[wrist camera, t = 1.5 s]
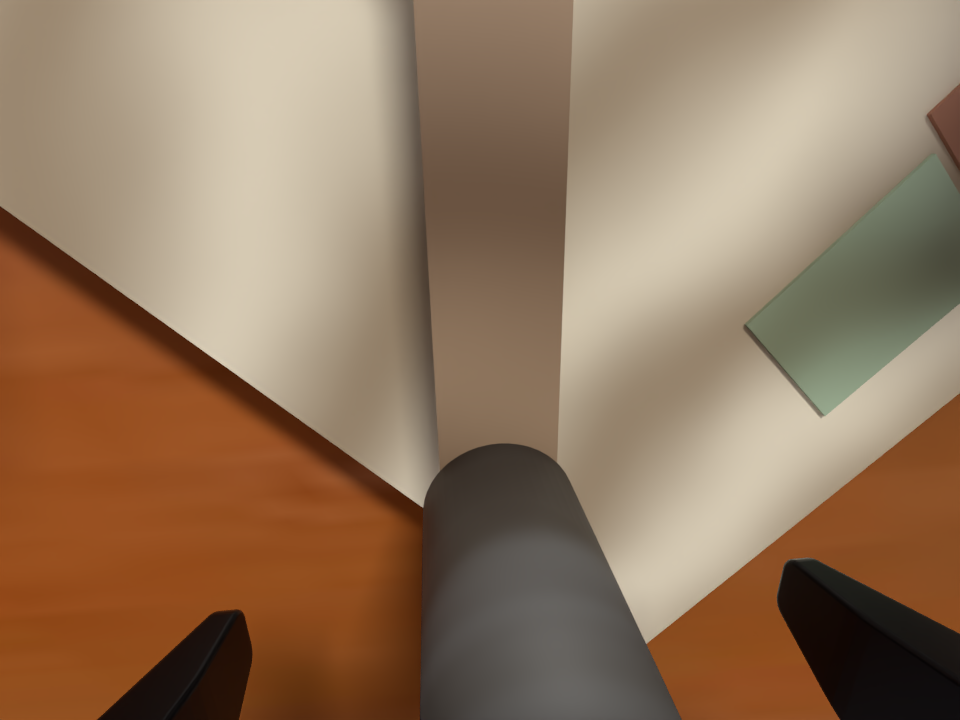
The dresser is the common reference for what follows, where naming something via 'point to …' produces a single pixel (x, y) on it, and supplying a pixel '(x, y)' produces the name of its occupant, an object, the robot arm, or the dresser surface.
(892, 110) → the board
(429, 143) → the lever
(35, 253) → the dresser surface
